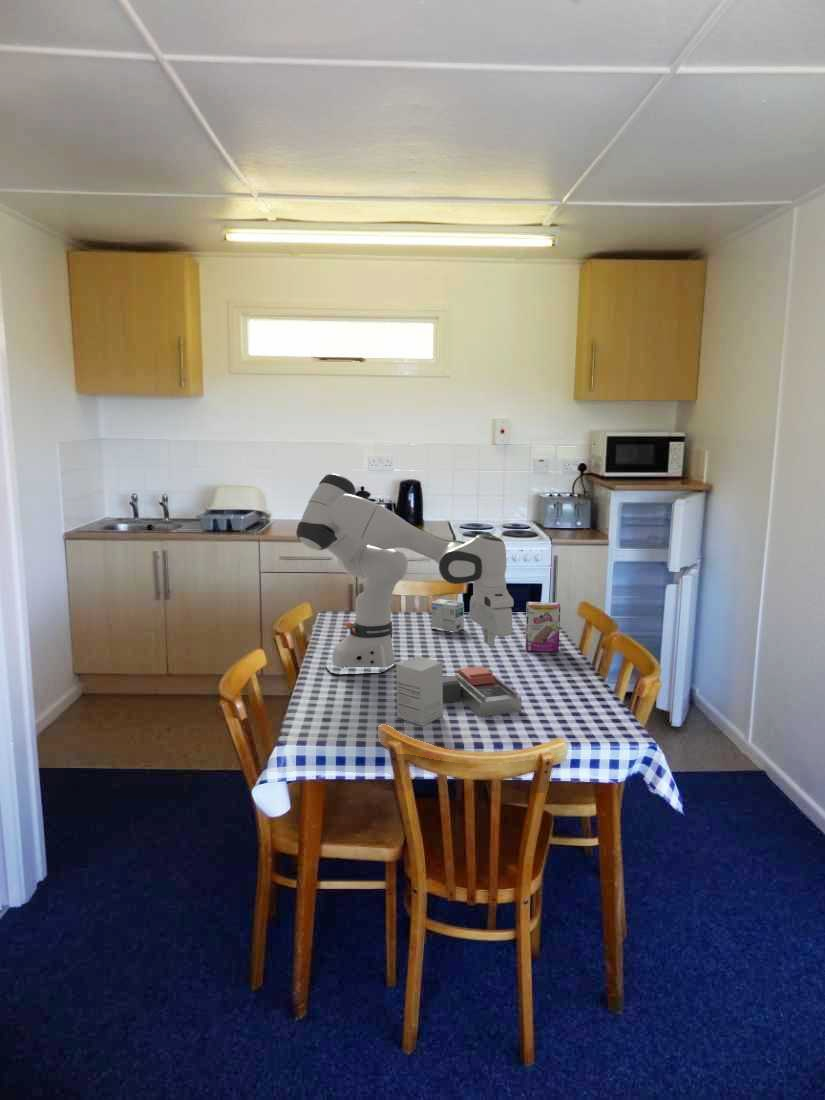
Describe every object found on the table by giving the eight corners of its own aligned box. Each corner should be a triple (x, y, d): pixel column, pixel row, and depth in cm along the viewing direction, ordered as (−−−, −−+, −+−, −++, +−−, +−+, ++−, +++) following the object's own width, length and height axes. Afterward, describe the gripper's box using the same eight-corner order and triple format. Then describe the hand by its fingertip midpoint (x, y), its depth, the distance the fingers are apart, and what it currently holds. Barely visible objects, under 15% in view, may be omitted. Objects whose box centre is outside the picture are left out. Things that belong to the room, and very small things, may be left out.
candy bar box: (525, 652, 255) (526, 604, 252) (525, 647, 260) (526, 601, 257) (559, 653, 254) (560, 605, 251) (558, 648, 258) (559, 602, 256)
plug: (440, 703, 209) (440, 683, 208) (434, 697, 214) (434, 677, 213) (460, 701, 211) (460, 680, 210) (453, 695, 216) (454, 675, 215)
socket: (479, 716, 199) (480, 698, 198) (451, 690, 219) (451, 673, 218) (521, 711, 203) (521, 692, 202) (489, 685, 223) (489, 668, 222)
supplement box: (417, 708, 206) (417, 655, 203) (443, 716, 200) (443, 661, 198) (395, 718, 199) (395, 663, 196) (422, 727, 193) (422, 670, 191)
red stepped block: (470, 685, 211) (470, 676, 210) (458, 675, 219) (458, 666, 219) (495, 682, 213) (495, 673, 212) (482, 672, 221) (482, 664, 221)
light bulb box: (464, 629, 283) (464, 601, 281) (455, 633, 277) (455, 605, 275) (439, 625, 289) (439, 598, 287) (430, 629, 283) (430, 601, 281)
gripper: (464, 587, 212) (463, 635, 215) (494, 603, 193) (493, 655, 196) (484, 585, 214) (484, 632, 217) (516, 601, 195) (516, 653, 198)
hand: (489, 644), depth 206 cm, fingers closed
